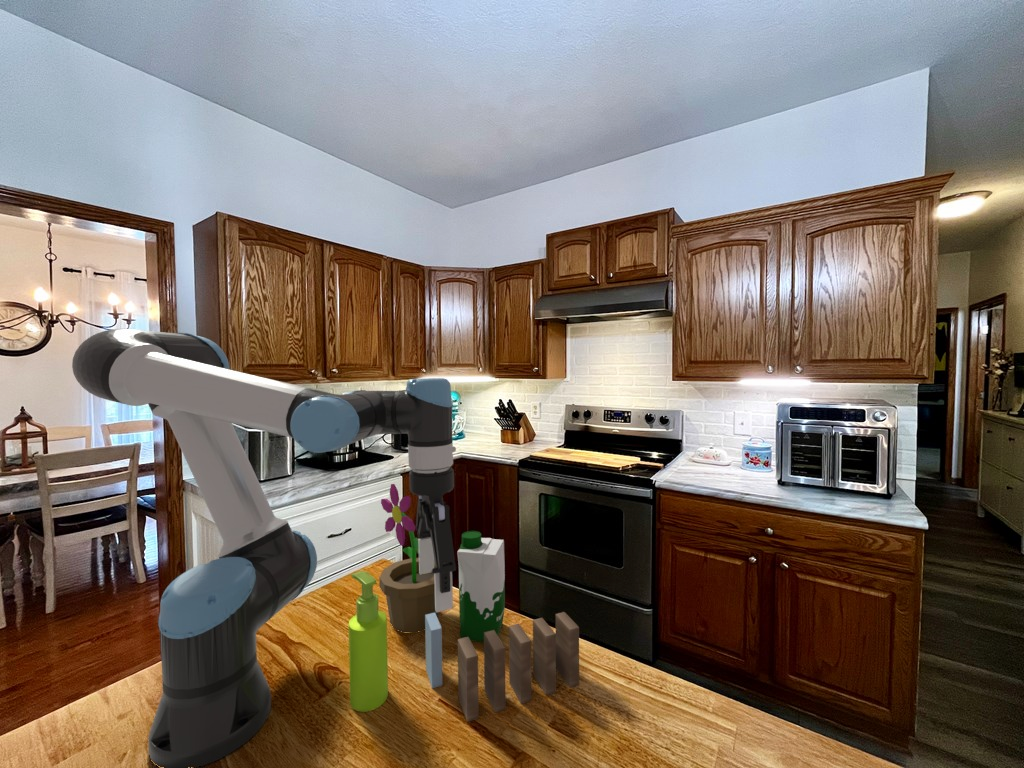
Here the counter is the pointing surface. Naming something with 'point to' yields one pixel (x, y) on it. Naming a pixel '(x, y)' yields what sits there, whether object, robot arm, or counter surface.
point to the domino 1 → (433, 649)
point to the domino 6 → (567, 649)
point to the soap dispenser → (368, 649)
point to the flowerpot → (406, 573)
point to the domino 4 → (520, 663)
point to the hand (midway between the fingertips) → (434, 589)
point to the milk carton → (481, 585)
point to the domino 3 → (494, 670)
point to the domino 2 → (468, 678)
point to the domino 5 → (544, 656)
